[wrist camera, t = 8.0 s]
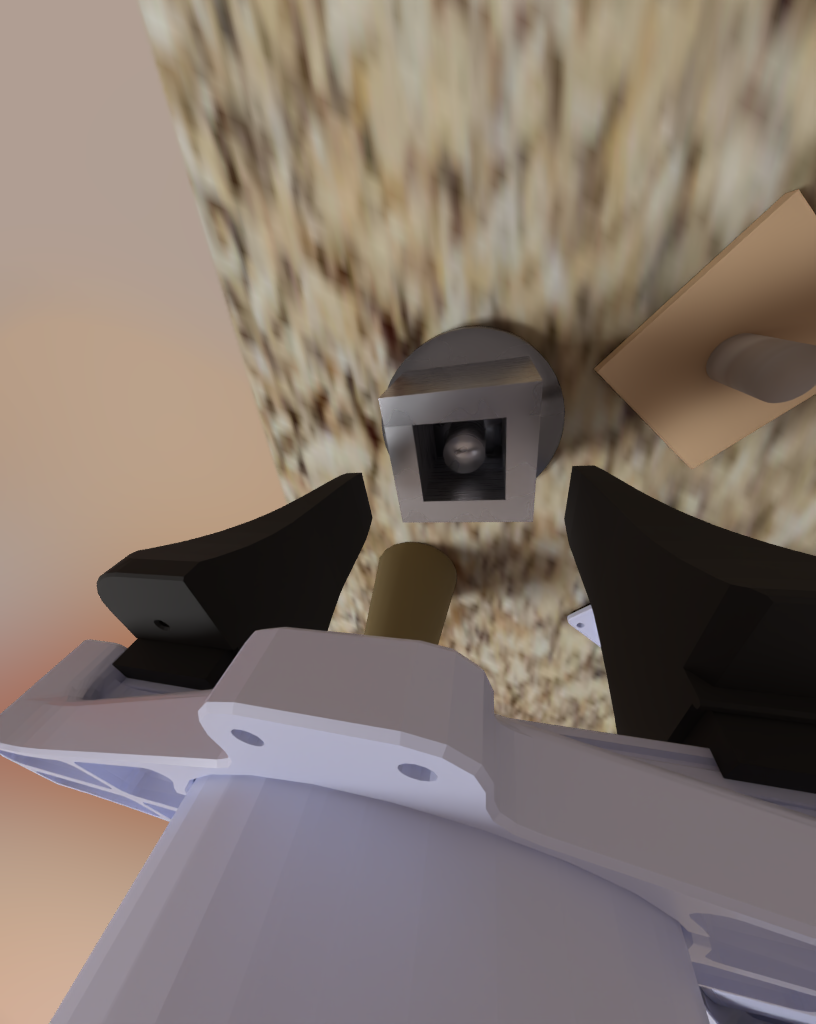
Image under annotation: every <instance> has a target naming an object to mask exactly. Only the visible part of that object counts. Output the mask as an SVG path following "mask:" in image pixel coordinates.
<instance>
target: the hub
mask: <svg viewBox="0 0 816 1024" xmlns="http://www.w3.org/2000/svg"><path fill="white" fill-rule="evenodd" d="M525 356H529V357H530V359H531V361H532V362H533V364H534V366H535V368H536V369H537V371H538V373H539V375H540V376H541V378H542V380H543V388H542V402H541V415H540V429H539V443H538V457H537V471H536V477H537V476H539V474H540V473H541V472H542V471H543V470H544V469H545V468H546V466H547V465H548V463H549V462H550V460H551V459H552V457H553V455H554V453H555V451H556V449H557V447H558V445H559V442H560V439H561V436H562V431H563V426H564V415H565V410H564V399H563V395H562V391H561V387H560V384H559V382H558V380H557V377H556V375H555V373H554V372H553V370H552V368H551V367H550V365H549V364H548V362H547V361H546V360H545V359H544V357H543V356H542V355H541V354H540V353H539V352H538V350H537V349H535V348H534V347H533V346H532V345H531V344H529V343H528V342H527V341H525V340H524V339H522V338H520V337H519V336H517V335H515V334H513V333H510V332H508V331H505V330H502V329H498V328H493V327H485V326H469V327H462V328H457V329H452V330H449V331H447V332H444V333H441V334H439V335H437V336H435V337H433V338H432V339H430V340H428V341H427V342H425V343H424V344H422V345H421V346H420V347H418V348H417V349H416V350H415V351H414V352H413V353H412V354H411V355H410V356H409V357H408V358H407V359H406V360H405V361H404V362H403V363H402V365H401V366H400V367H399V368H398V370H397V371H396V373H395V375H394V376H393V378H392V380H391V382H390V384H389V386H388V388H389V387H390V386H391V385H392V384H393V383H394V382H395V381H396V380H397V379H398V378H399V377H400V376H401V374H402V373H403V372H406V371H414V370H422V369H430V368H438V367H446V366H454V365H462V364H469V363H477V362H485V361H493V360H501V359H509V358H517V357H525ZM433 428H434V437H435V446H436V455H437V457H443V458H444V461H445V463H446V465H447V466H448V467H449V468H450V469H451V470H453V471H455V472H457V473H471V472H473V471H475V470H477V469H478V468H479V467H480V466H481V465H482V464H483V462H484V459H485V454H501V453H502V418H493V419H481V420H469V421H457V422H445V423H433ZM382 431H383V437H384V441H385V445H386V448H387V450H388V453H389V449H388V444H387V439H386V434H385V429H384V424H383V419H382ZM389 455H390V454H389Z"/></svg>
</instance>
